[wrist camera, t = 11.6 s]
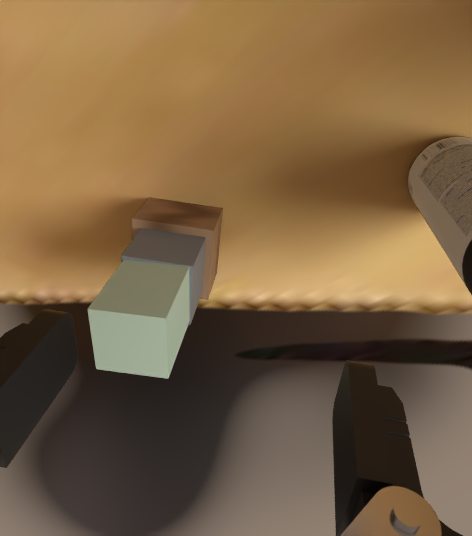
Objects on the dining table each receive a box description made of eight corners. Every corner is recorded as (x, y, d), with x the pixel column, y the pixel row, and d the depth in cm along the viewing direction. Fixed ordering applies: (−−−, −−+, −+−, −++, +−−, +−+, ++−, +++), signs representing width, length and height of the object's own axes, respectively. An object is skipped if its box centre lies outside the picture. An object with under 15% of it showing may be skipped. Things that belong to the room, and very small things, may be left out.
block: (189, 266, 32) (166, 318, 27) (189, 320, 35) (168, 378, 29) (123, 259, 33) (87, 308, 27) (128, 313, 35) (96, 368, 30)
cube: (205, 237, 37) (193, 266, 32) (202, 291, 39) (190, 325, 35) (141, 227, 37) (121, 255, 33) (142, 282, 40) (123, 314, 36)
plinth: (222, 207, 41) (213, 230, 36) (216, 272, 44) (207, 299, 40) (149, 197, 41) (131, 218, 37) (149, 261, 45) (133, 287, 40)
